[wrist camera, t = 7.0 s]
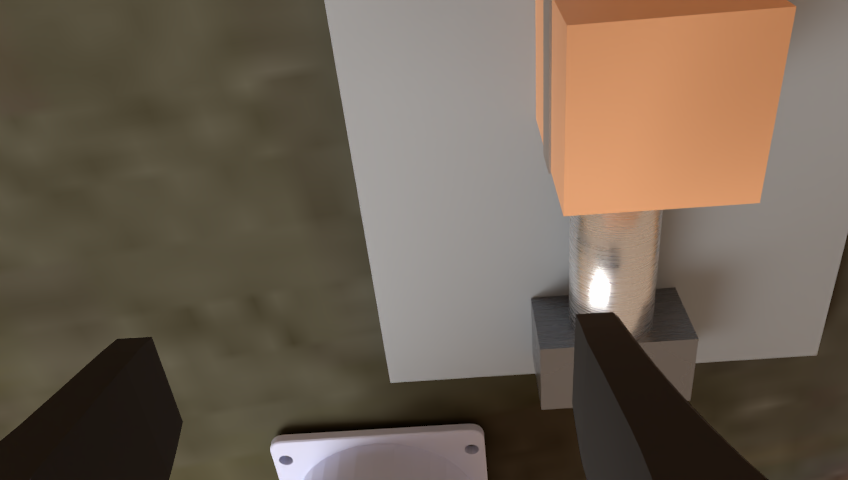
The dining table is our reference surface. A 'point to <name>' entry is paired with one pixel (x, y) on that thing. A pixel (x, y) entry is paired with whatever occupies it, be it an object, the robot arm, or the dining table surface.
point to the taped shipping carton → (658, 100)
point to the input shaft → (612, 303)
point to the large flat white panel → (538, 201)
